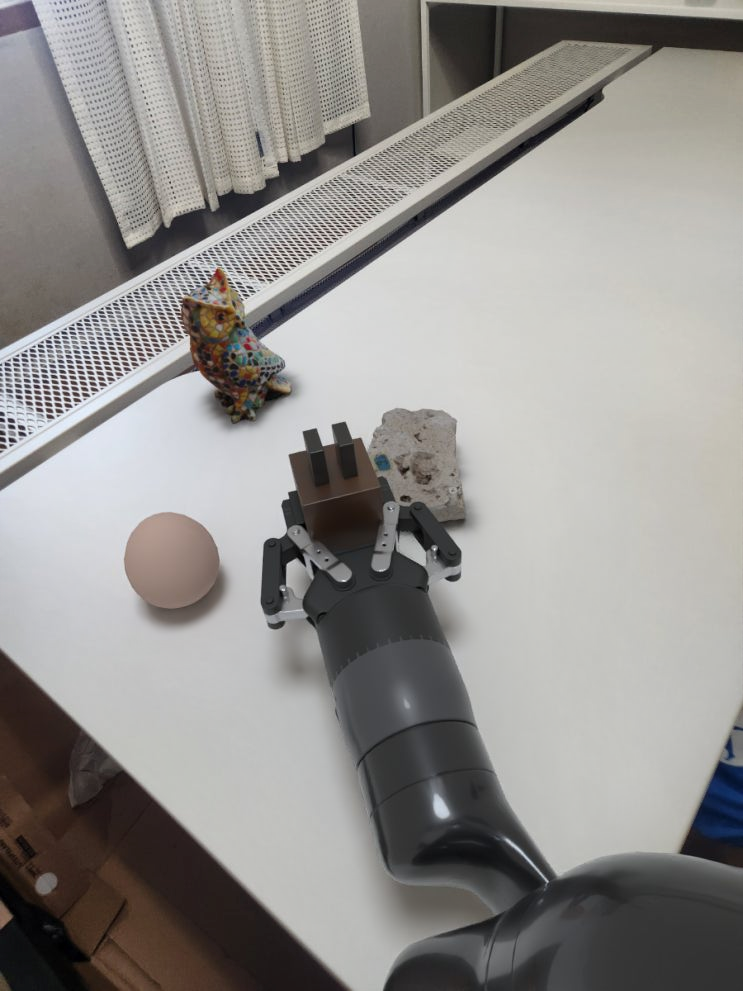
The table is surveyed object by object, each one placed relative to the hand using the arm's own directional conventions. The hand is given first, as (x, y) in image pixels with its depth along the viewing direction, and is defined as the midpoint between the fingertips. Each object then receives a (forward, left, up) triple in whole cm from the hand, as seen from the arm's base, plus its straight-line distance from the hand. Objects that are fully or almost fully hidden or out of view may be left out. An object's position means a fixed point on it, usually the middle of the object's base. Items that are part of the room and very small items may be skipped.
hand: (332, 489), depth 51 cm
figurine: (+20, -14, -8) cm, 26 cm away
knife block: (-2, +2, -7) cm, 7 cm away
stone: (-2, -10, -8) cm, 13 cm away
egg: (+10, +9, -8) cm, 16 cm away
